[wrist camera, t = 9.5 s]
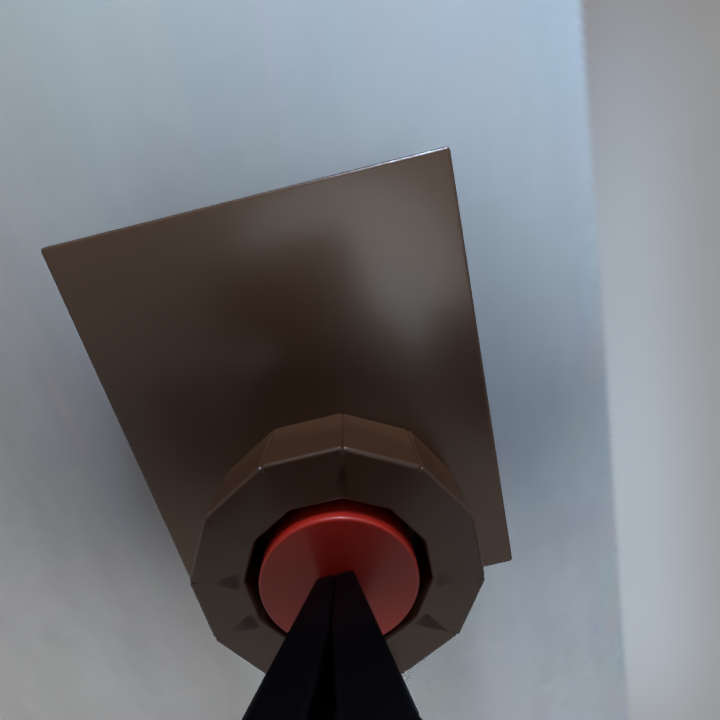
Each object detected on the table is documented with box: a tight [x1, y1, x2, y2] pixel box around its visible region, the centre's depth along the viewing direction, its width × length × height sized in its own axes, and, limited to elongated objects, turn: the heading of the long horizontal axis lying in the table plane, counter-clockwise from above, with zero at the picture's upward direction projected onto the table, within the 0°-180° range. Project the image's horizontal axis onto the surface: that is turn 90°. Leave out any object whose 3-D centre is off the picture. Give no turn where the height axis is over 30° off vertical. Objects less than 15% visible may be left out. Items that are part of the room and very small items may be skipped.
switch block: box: [41, 147, 512, 674], centre depth 10 cm, size 12×9×4 cm
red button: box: [259, 498, 420, 635], centre depth 9 cm, size 4×4×2 cm
